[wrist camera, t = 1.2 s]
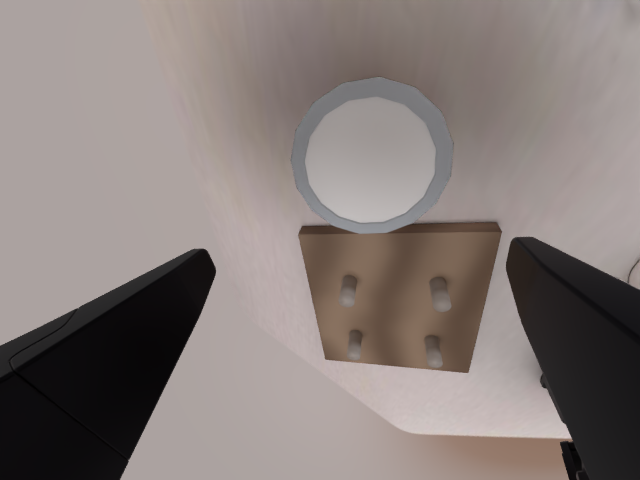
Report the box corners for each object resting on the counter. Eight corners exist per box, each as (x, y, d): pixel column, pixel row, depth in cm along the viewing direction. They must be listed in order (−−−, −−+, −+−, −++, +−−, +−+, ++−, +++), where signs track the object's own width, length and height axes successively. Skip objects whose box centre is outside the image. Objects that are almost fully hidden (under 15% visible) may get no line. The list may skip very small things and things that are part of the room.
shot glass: (440, 164, 18) (463, 219, 13) (339, 191, 21) (321, 247, 15) (421, 42, 15) (441, 43, 9) (304, 91, 18) (263, 114, 12)
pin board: (496, 222, 20) (514, 253, 17) (465, 361, 28) (474, 398, 26) (302, 226, 23) (289, 253, 20) (327, 349, 32) (321, 380, 29)
